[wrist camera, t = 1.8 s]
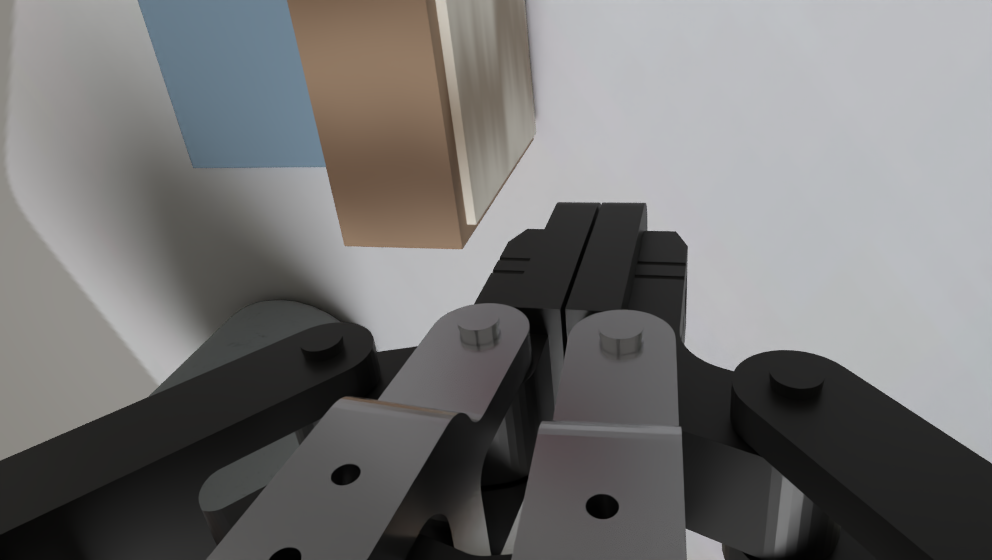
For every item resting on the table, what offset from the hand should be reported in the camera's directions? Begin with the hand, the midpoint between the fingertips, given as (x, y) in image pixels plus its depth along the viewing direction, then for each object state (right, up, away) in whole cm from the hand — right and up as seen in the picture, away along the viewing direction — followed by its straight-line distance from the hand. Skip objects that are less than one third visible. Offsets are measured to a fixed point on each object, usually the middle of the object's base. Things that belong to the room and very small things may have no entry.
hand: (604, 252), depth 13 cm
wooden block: (-3, +9, +17) cm, 19 cm away
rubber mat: (-11, +9, +19) cm, 24 cm away
